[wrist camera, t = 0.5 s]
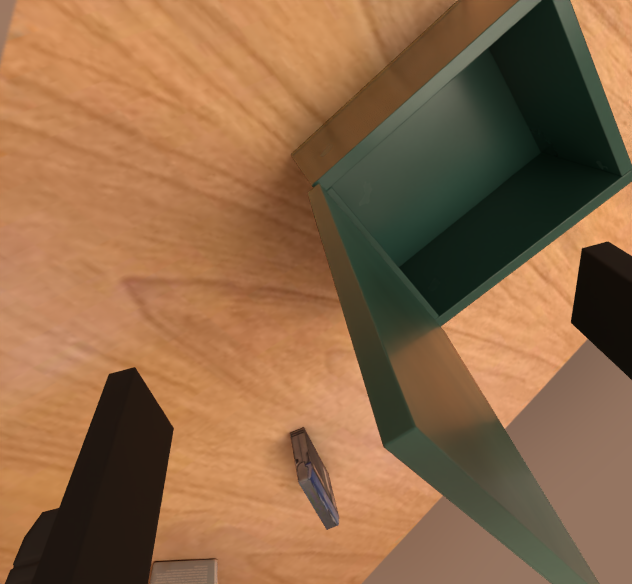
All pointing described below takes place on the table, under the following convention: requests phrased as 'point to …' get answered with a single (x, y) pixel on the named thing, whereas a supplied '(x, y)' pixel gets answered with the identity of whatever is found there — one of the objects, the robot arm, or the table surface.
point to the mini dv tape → (314, 478)
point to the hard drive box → (185, 572)
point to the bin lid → (438, 405)
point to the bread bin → (473, 148)
